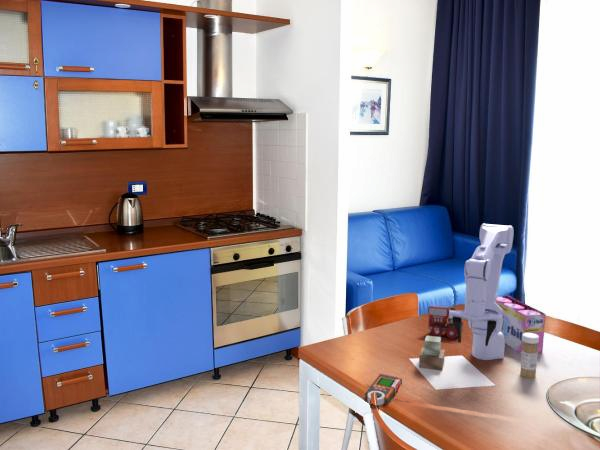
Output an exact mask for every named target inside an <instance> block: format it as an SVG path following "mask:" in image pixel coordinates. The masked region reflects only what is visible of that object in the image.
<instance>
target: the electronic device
mask: <svg viewBox="0 0 600 450" xmlns="http://www.w3.org/2000/svg"><path fill="white" fill-rule="evenodd" d="M402 384H403V379H402V378H401V377H397V376H392V375H389V374H388V375H387V374H382V373H380V374H378V376H377V377H376V379H375V380H374V382H372V384H370V386H369V387H368V389H367V391H366V392H365V400H367V403H368V404H370V400H371V394H372V393H373V392H375V393H376V395H377V405H378V406H383V405H384V404H386V405H389V404H390V403H391V402H392V400H393V398H394V397H395V396H396V395H397V394H398V392H399V389H400V387H401V385H402ZM370 405H371V404H370Z"/></svg>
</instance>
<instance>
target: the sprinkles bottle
mask: <svg viewBox="0 0 600 450" xmlns="http://www.w3.org/2000/svg"><path fill="white" fill-rule="evenodd" d="M538 342H539V336H538V335H537V334H534V333H524V334H523V335H522V353H520V371H519V372H520V374H519V375H520V376H521V378H525V379H534V378H537V377H536V376H537V375H536V373H537V366H538V355H539V353H538V352H537V349H538Z"/></svg>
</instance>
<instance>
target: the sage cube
mask: <svg viewBox="0 0 600 450" xmlns="http://www.w3.org/2000/svg"><path fill="white" fill-rule="evenodd" d="M441 344H442V336H440V337H435V336H433V335H426V336H425V338H424V354H425V355H433V356H439V355H440V350H441V349H442V347H441V346H442V345H441Z"/></svg>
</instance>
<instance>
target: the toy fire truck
mask: <svg viewBox="0 0 600 450" xmlns="http://www.w3.org/2000/svg"><path fill="white" fill-rule="evenodd" d="M450 310H455V311H457V310H456V308H455V307H450V309H449V308H448V307H447V306H445V307H444V306H433V305H429V306H428V308H427V313H428V326H427V327H428V329H429V330H430V333H431V334H432V335H431V336H434V337H442V335H443V333H444V332H445V335H446V337H447V338H448V339H451V338H453V339H455V338H457V337H458V336H457V332H456V329H455V327H454V325H453V322H452V321H453V318H449V311H450ZM463 326H464V323H463V321H462V322H461V334H462V332H463Z"/></svg>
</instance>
